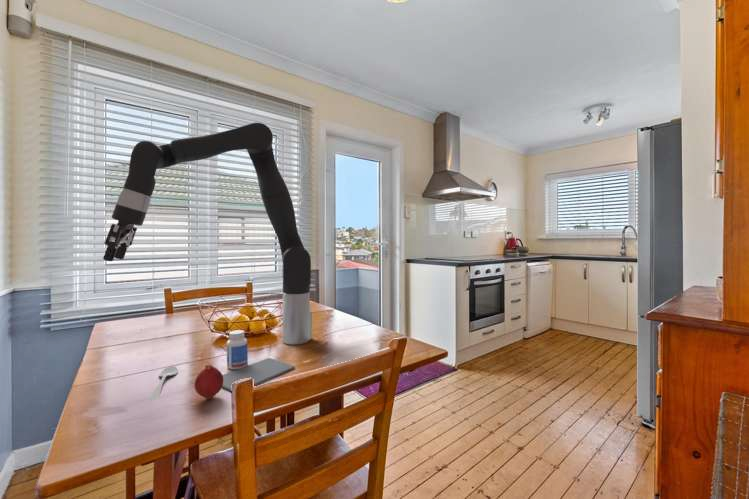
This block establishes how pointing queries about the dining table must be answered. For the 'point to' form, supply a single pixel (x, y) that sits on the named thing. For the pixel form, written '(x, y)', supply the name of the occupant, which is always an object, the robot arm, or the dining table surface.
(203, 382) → the onion
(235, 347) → the pill bottle
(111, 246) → the robot arm
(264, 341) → the dining table surface
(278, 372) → the mat
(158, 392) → the spoon
